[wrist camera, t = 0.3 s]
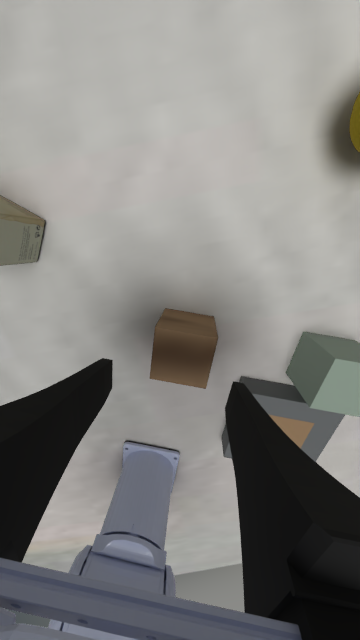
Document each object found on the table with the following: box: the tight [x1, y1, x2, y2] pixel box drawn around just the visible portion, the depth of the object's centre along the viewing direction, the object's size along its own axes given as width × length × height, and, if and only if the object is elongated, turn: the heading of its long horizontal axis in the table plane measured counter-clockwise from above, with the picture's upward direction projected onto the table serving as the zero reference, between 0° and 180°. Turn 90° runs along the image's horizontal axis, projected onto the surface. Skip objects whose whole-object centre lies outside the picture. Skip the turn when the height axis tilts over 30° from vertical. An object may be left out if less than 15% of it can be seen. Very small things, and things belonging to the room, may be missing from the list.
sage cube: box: [286, 332, 360, 417], centre depth 18 cm, size 5×5×5 cm
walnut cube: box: [150, 308, 218, 389], centre depth 18 cm, size 5×5×5 cm
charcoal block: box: [222, 376, 345, 462], centre depth 22 cm, size 10×10×3 cm
